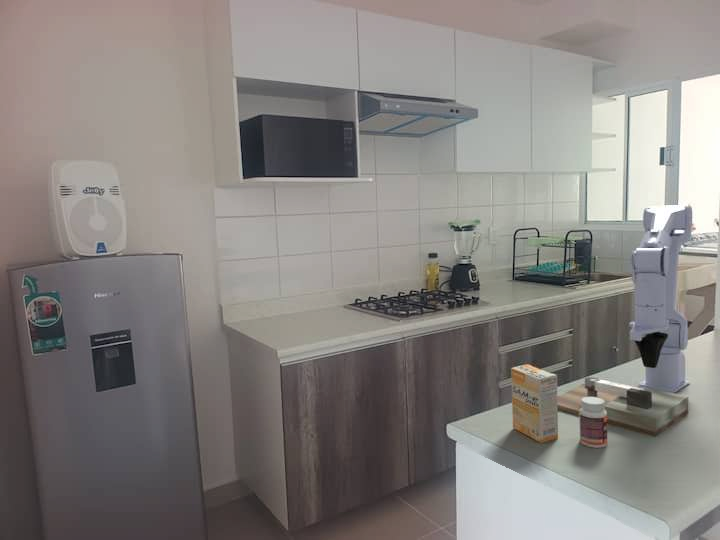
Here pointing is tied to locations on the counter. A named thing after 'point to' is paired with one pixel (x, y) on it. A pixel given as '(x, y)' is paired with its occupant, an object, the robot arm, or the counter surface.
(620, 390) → the bar
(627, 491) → the counter surface
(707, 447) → the counter surface
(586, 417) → the pill bottle
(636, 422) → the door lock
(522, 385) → the supplement box
